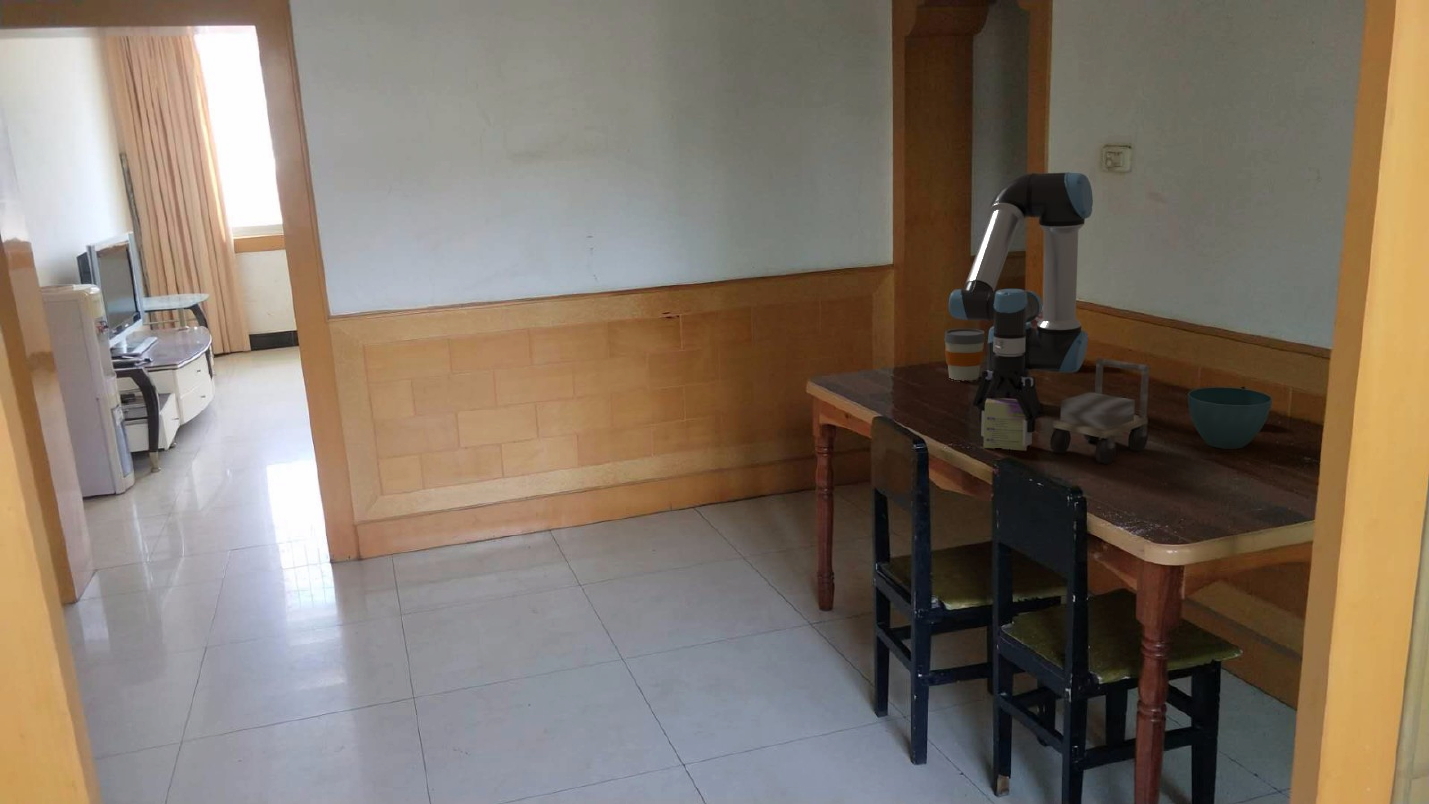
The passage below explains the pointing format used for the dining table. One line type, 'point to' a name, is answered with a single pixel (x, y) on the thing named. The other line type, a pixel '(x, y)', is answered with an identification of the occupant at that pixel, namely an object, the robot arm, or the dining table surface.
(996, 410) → the box
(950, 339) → the reusable coffee cup
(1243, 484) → the dining table surface
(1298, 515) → the dining table surface
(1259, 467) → the dining table surface
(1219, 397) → the teal bowl
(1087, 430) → the trolley
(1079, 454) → the dining table surface
